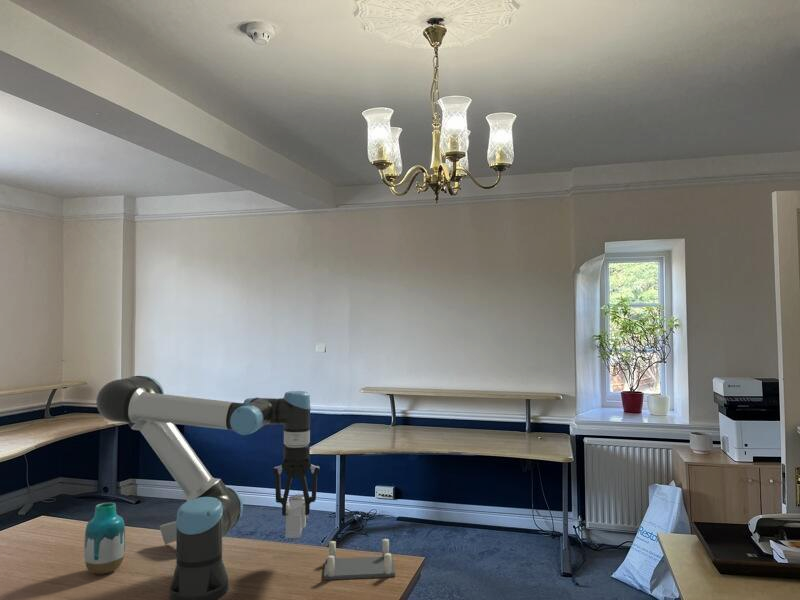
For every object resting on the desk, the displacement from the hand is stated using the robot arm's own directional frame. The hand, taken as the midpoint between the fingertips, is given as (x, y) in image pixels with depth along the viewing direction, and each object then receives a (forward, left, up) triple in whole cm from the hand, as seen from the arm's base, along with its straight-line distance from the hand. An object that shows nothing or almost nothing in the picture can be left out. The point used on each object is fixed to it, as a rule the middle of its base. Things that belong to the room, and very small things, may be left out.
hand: (295, 526), depth 168 cm
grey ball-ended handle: (0, +2, 0) cm, 2 cm away
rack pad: (+18, 0, -13) cm, 22 cm away
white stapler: (-44, +25, -11) cm, 52 cm away
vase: (-56, +6, -13) cm, 58 cm away
